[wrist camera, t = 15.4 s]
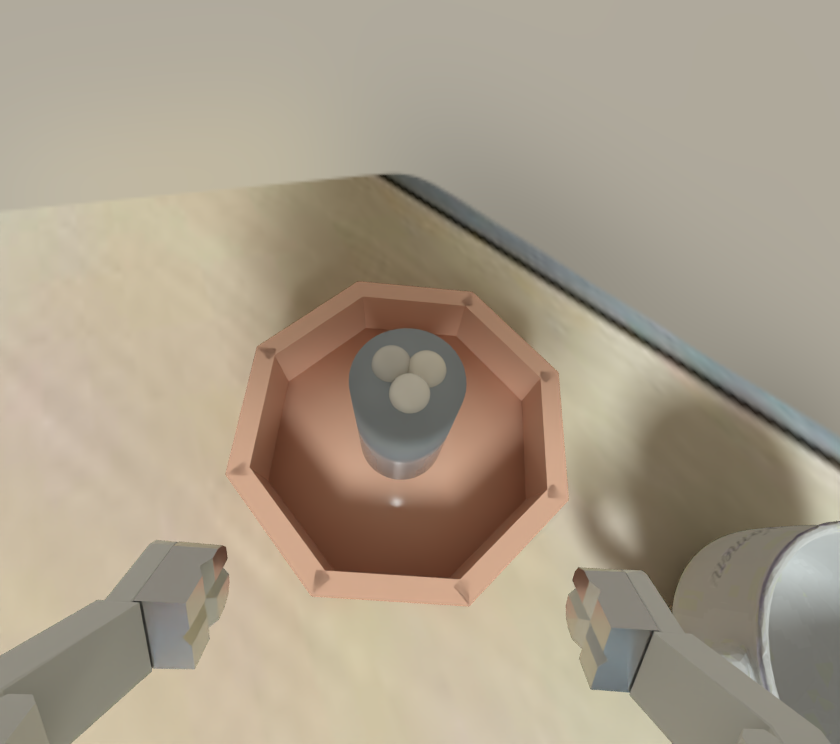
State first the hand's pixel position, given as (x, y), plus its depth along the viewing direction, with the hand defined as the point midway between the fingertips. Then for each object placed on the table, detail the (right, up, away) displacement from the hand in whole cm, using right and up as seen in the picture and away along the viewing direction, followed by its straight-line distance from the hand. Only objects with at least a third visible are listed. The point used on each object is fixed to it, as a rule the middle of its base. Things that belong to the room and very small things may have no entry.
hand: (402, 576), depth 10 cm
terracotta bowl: (-1, +1, +15) cm, 15 cm away
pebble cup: (-1, +1, +14) cm, 14 cm away
